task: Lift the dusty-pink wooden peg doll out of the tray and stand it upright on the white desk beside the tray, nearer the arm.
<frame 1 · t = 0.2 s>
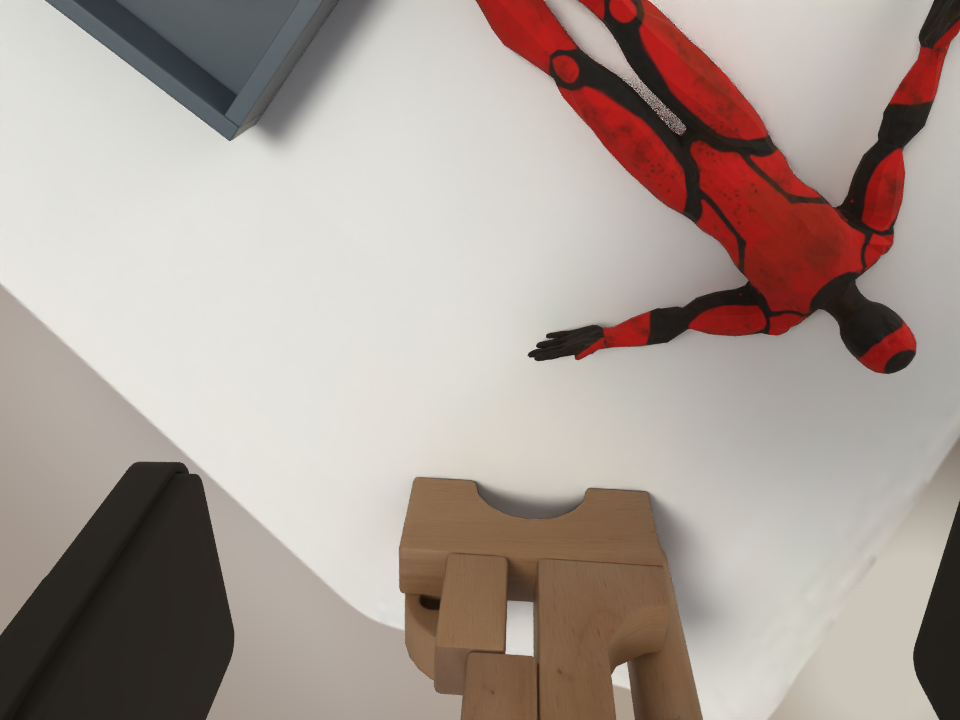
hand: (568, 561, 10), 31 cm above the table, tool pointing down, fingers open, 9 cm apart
wooden toy: (541, 526, 49), on the table
action figure: (675, 122, 38), on the table
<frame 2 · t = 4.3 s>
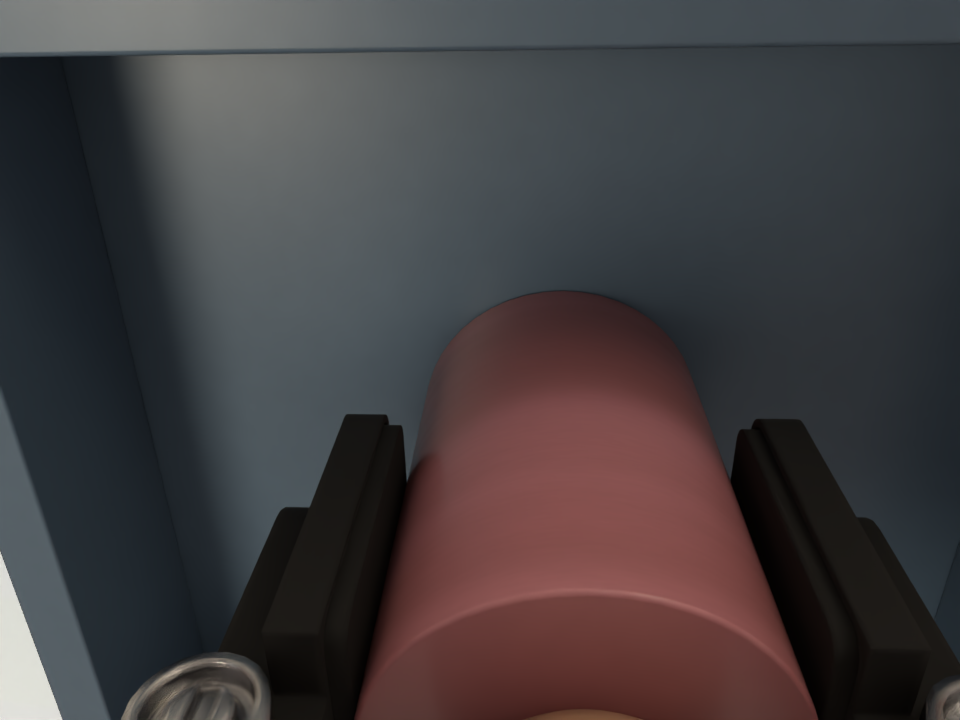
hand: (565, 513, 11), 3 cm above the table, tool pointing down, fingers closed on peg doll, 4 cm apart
tray: (558, 398, 14), on the table
peg doll: (559, 413, 13), point 1 cm above the table, touching tray, gripper
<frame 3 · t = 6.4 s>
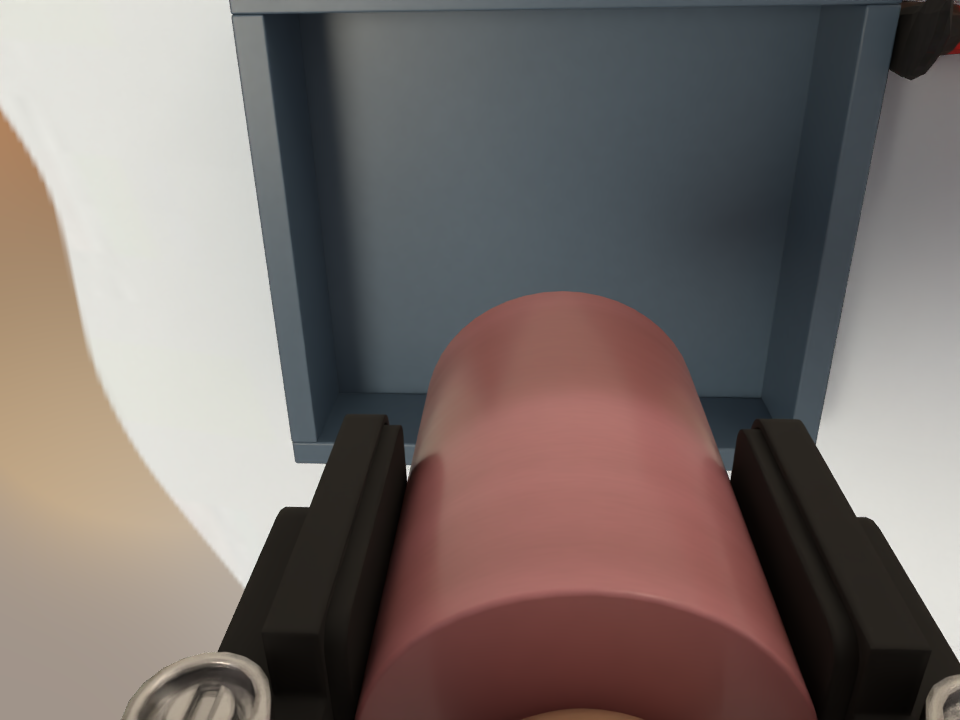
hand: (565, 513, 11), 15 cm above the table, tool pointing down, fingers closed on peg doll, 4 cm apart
tray: (550, 215, 25), on the table
peg doll: (559, 413, 13), point 13 cm above the table, touching gripper
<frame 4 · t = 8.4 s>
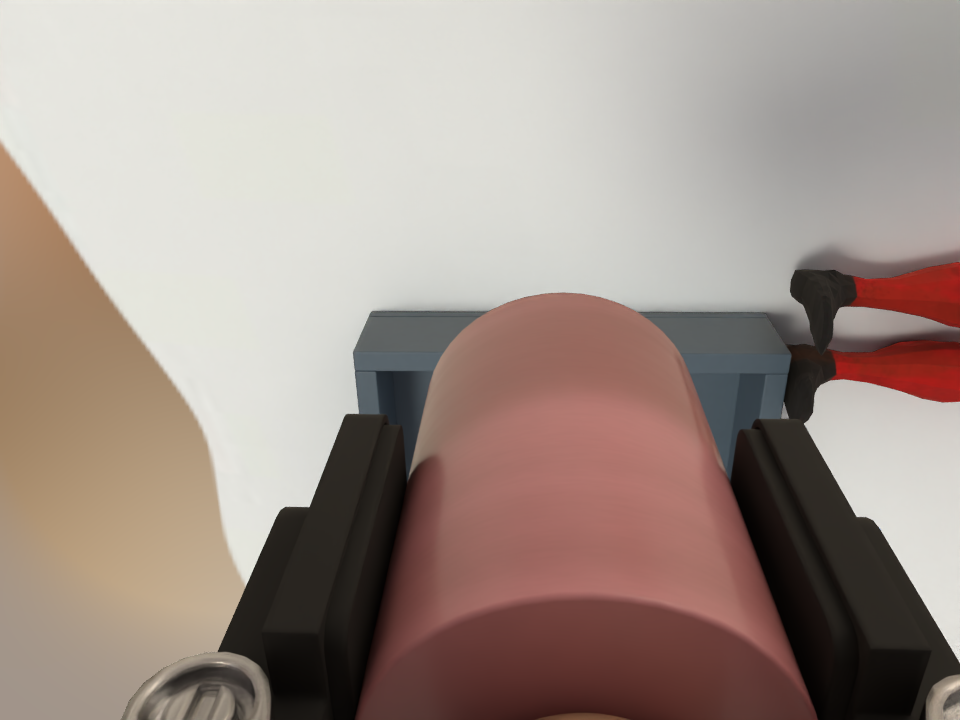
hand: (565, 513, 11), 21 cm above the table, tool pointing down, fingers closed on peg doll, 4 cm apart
tray: (561, 455, 35), on the table
peg doll: (559, 414, 13), point 18 cm above the table, touching gripper
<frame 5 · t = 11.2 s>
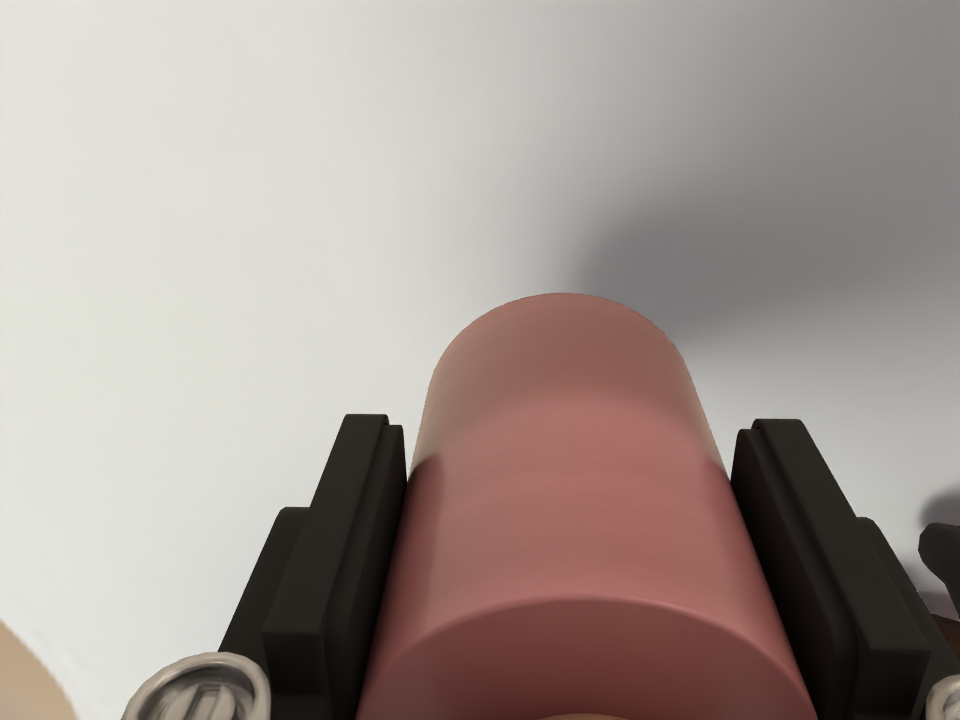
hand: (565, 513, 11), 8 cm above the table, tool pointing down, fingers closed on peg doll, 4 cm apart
peg doll: (559, 414, 13), point 5 cm above the table, touching gripper
when the fingers open (3 cm above the table, at t = 12.9 s): peg doll stays where it is, on the table.
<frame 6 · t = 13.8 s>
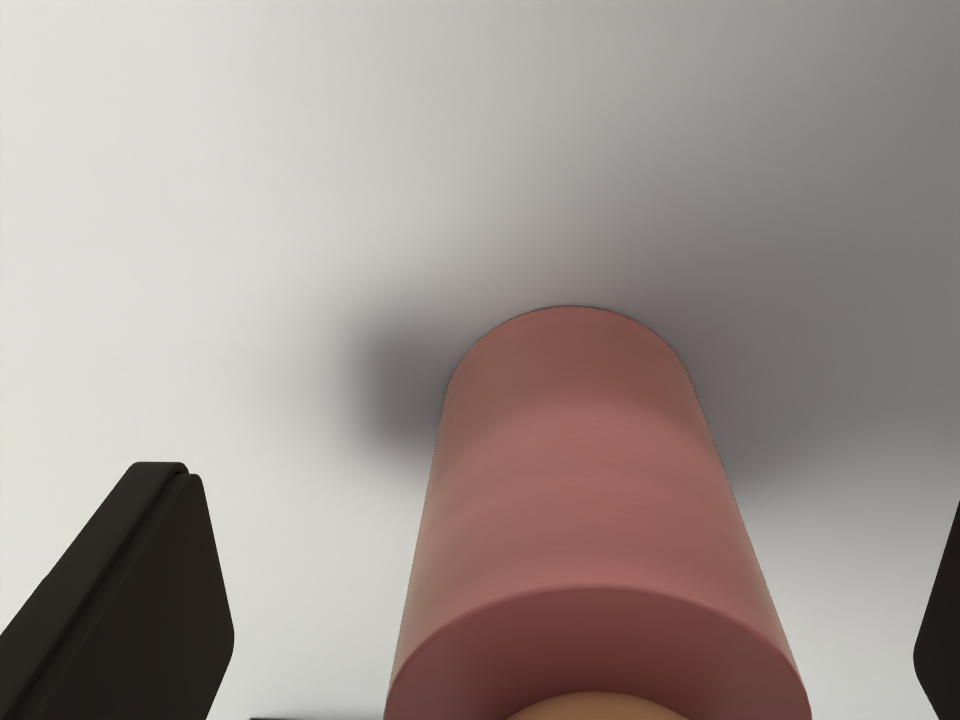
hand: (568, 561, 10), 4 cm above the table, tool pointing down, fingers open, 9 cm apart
peg doll: (568, 421, 14), on the table
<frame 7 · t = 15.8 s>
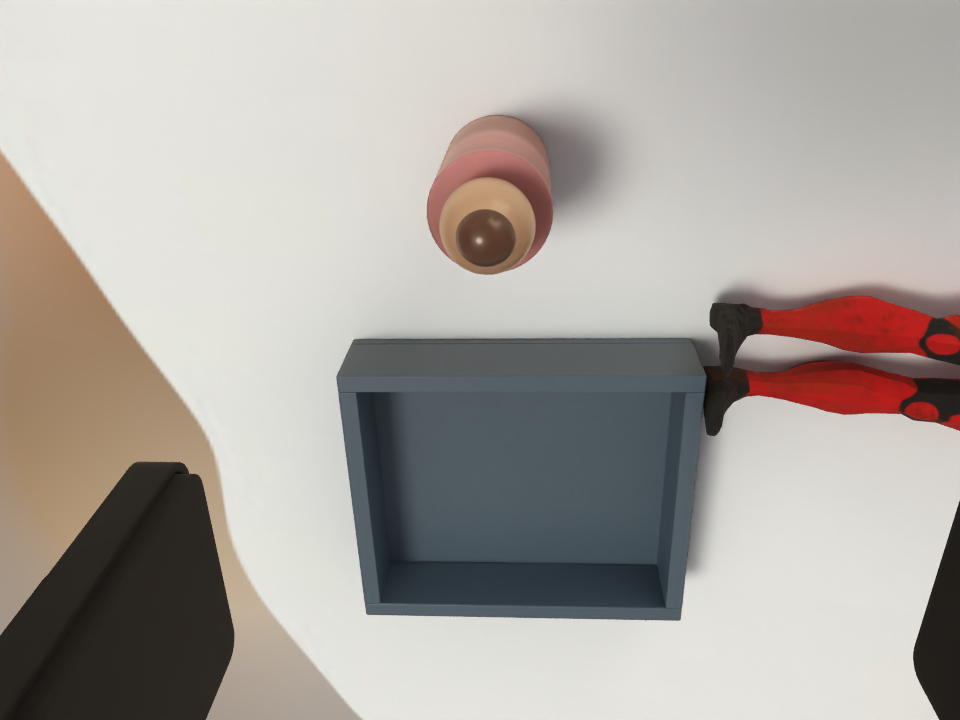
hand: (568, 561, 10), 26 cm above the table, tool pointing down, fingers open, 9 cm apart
tray: (521, 461, 41), on the table
peg doll: (496, 168, 34), on the table
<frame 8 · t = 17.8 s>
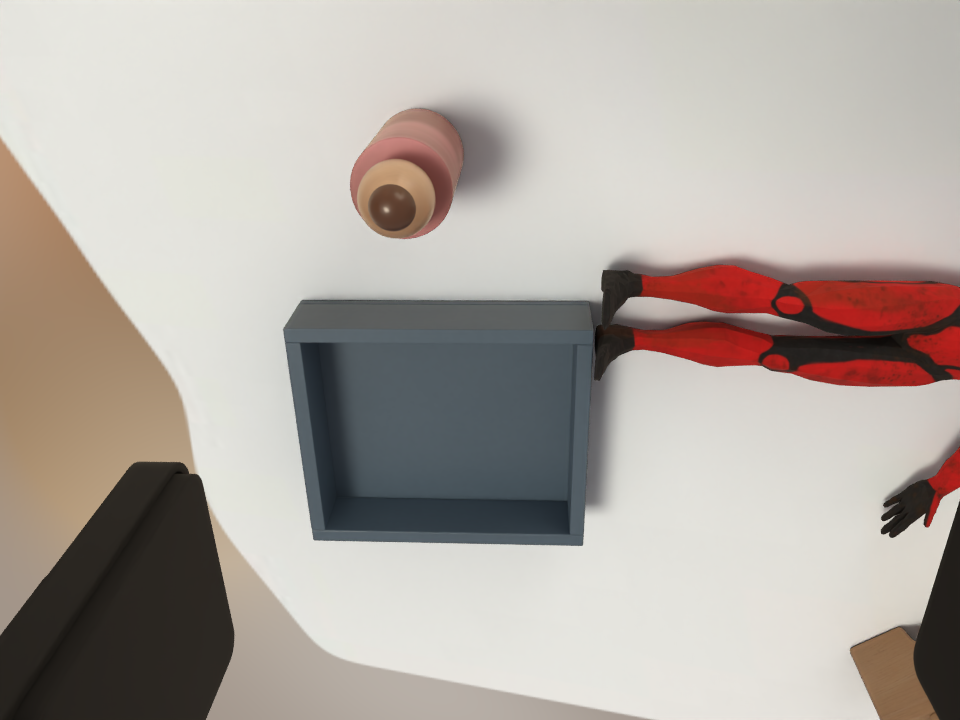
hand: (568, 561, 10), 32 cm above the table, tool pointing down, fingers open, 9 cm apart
tray: (448, 409, 47), on the table
action figure: (876, 314, 43), on the table
peg doll: (419, 154, 40), on the table
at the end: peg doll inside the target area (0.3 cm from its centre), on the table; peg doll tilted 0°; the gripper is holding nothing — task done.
